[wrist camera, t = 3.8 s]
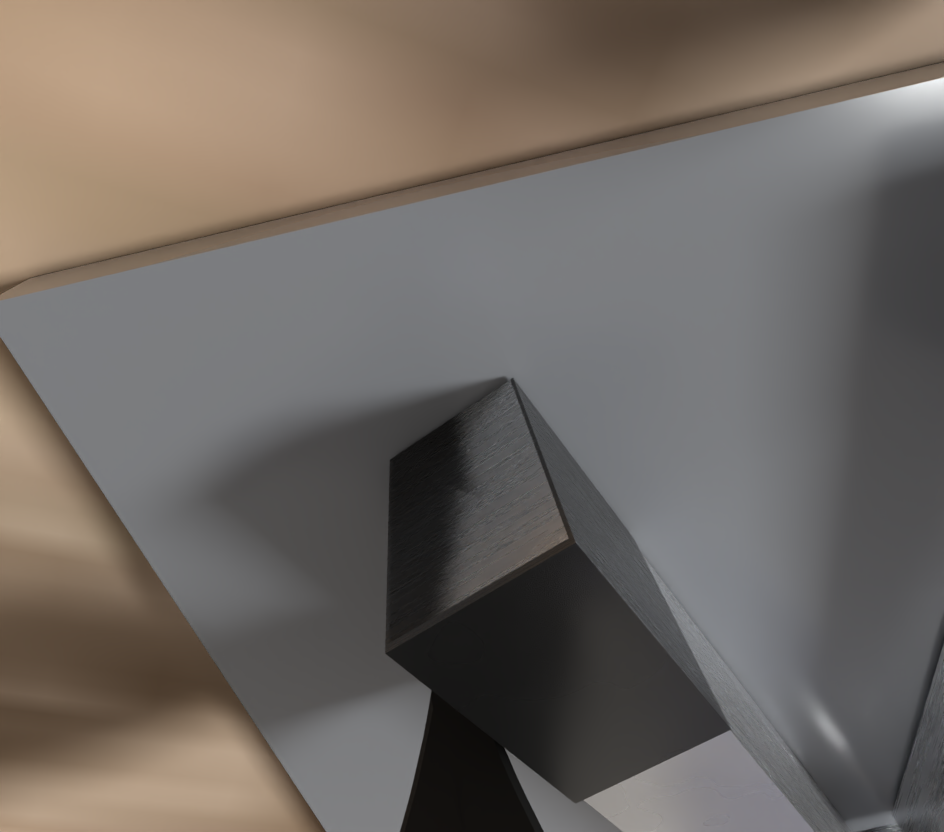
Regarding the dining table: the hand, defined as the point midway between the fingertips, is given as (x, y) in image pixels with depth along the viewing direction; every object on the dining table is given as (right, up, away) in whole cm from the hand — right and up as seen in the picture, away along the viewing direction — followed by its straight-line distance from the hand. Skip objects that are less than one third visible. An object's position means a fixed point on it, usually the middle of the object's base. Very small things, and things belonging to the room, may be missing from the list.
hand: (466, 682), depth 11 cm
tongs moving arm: (+5, -1, +3) cm, 6 cm away
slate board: (+5, -1, +4) cm, 7 cm away
